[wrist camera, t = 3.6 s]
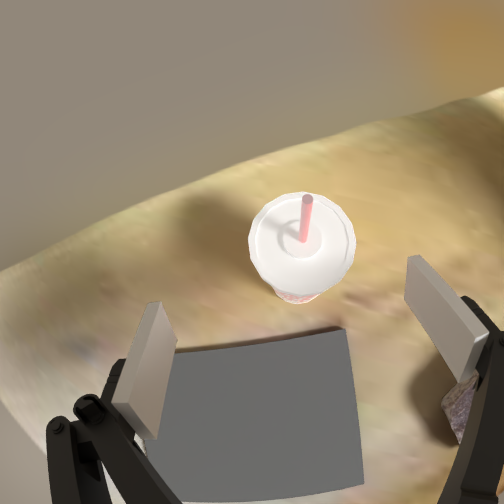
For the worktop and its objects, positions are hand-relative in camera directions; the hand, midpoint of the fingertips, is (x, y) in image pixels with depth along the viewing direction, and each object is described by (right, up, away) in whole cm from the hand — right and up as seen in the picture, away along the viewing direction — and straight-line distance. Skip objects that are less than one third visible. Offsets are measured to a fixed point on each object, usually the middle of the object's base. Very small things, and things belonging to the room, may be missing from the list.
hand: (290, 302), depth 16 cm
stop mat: (-2, -12, +7) cm, 14 cm away
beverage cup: (+2, 0, +10) cm, 11 cm away
